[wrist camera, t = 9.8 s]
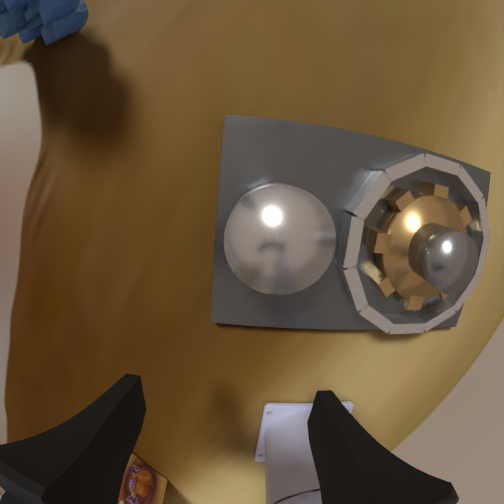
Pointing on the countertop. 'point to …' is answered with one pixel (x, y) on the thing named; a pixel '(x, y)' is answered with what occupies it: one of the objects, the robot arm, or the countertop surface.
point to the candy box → (141, 484)
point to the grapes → (41, 18)
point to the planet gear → (422, 246)
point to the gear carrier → (324, 226)
